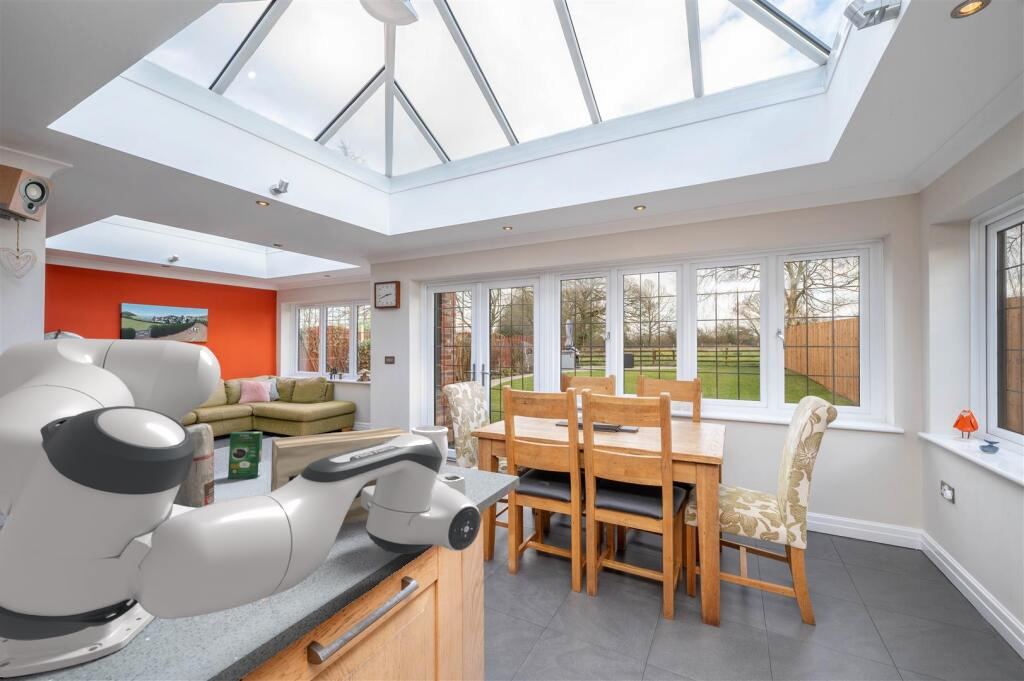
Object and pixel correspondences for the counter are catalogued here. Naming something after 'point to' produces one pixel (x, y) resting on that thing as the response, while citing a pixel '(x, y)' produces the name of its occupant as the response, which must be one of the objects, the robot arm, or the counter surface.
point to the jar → (435, 440)
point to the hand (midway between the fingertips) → (399, 481)
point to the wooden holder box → (304, 450)
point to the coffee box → (245, 454)
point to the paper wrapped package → (199, 470)
